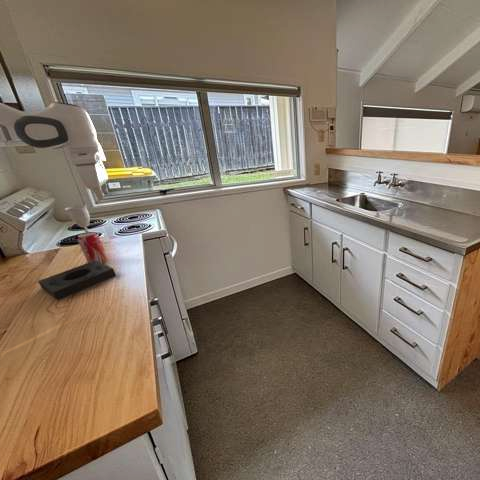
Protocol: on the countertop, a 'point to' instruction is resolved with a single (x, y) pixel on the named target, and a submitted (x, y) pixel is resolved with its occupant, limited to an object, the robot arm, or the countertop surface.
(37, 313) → the countertop surface
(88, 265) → the dock pad
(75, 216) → the chalice
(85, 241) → the beverage can
